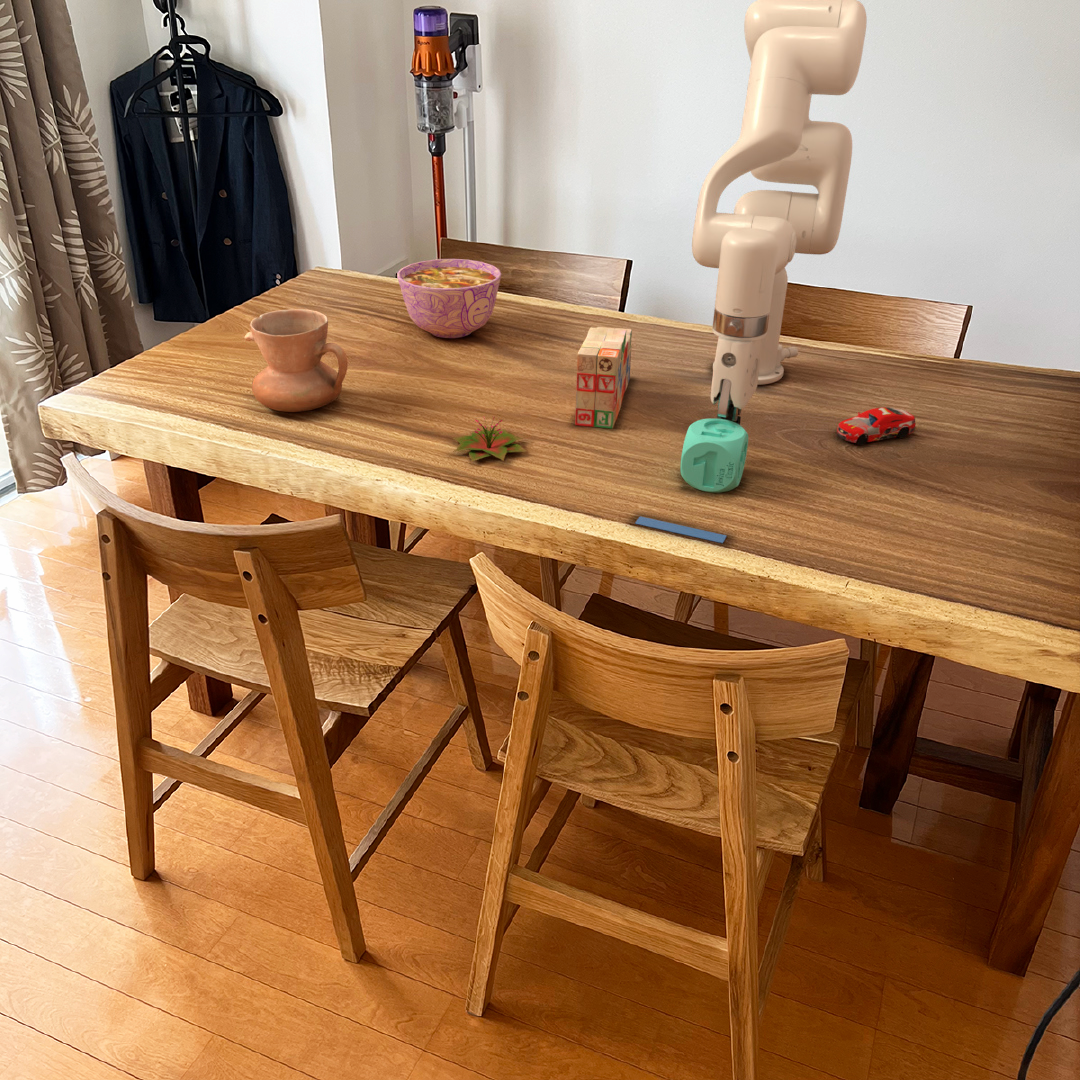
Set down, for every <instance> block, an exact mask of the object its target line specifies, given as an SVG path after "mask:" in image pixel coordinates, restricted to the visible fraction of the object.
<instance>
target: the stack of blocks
mask: <svg viewBox="0 0 1080 1080" xmlns="http://www.w3.org/2000/svg"><path fill="white" fill-rule="evenodd" d="M632 336H633V329H632V328H623V327H622V328H621V327H608V326H607V327H605V326H597V327H593V326H591V327H589V328H588V332H587V334H586V337H585V338H584V339H585V340H583V343H582V344H581V346H580V348H579V350H578V352H577V360H576V361H577V362H576V388H575V390H576V400H575V417H574V421H575V422H574V425H575V426H580V427H581V426H582V427H592V428H593V427H595V428H602V429H613V428H614V426H615V423H616V421H617V419H618V416H619V413H620V410H621V407H622V403H623V399H624V396H625V392H626V391H627V388H628V385H629V382H630V379H631V364H632V363H631V361H632Z"/></svg>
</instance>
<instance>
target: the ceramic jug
mask: <svg viewBox="0 0 1080 1080" xmlns="http://www.w3.org/2000/svg"><path fill="white" fill-rule="evenodd" d="M249 326H250V331H249V332H246V334H245V336H244V341H247V342H254V343H255V344H256V345H257V347H258V350H259V351H260V353H261V355H262V357H263V359H264V360H265V362H266V363H267V366H266V367H264V368H263V369H262V370H261V371H259V372H258V373H257V374H256V375H254V376H253V381H252V385H251V390H252V394H253V396H254V398H255V399H256V401H257V402H258V403H259V404H261V405H262V406H264V407H265V408H269V409H271V410H274V411H278V412H286V413H288V412H289V413H296V412H297V413H298V412H300V413H301V412H306V411H312V410H316V409H320V408H322V407H324V406H326V405H329V404H331V403H332V402H334V401H335V400H336V399H337V398H338V397H339V396H340V395H341V392H342V388H343V382H344V380H345V377H346V375H347V371H348V366H349V365H348V356H347V353H346V352H345V349H344V348H343V347H342V346H341V345H339V344H337V343H334V342H327V338H328V331H329V319H328V316H327V315H325V314H324V313H322V312H319V311H317V310H312V309H305V308H296V309H295V308H291V309H289V308H288V309H281V310H280V309H279V310H273V311H269V312H265V313H263V314H260V315H259V317H258V316H257V317H254V318H253V319H251V321H250V323H249ZM331 352H332V353H333V354H334V355H335V356H336V358H337V362H338V370H336V369H335V368H333V367H332V366H330V365H328V364H326V363H325V362H323V361H322V357H323V356H324V355H326V354H327V353H331Z"/></svg>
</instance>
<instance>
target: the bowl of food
mask: <svg viewBox="0 0 1080 1080" xmlns="http://www.w3.org/2000/svg"><path fill="white" fill-rule="evenodd" d="M396 274H397V276H396V277H397V281H398V284H399V288H400V291H401V294H402V299H403V301H404V305H405V308H406V309H407V310H406V311H407V313H408V316H409V318H410V320H412V322H413V323H414V324H415V325H416V326H417V327H418V328H420V329H422V330H424V332H428V333H430V334H431V335H433V336H435V337H438V338H443V339H458V338H463V337H467V336H469V335H470V334H471V333H473V332H475V331H477V330H478V329H481V328H482V327H484V326H485V325H486V324H487V322H488V321H489V319H490V318H491V316H492V315H493V312H494V308H495V306H496V302H497V301H496V300H497V297H498V291H499V287H500V283H501V279H502V273H501V270H500V269H499V268H498V267H496V266H495V265H493V264H490V263H486V262H483V261H480V260H474V259H473V260H472V259H464V258H463V259H462V258H437V259H436V258H435V259H430V260H429V259H428V260H422V261H418V262H414V263H410V264H407V265H405V266H404V267H402V268H400V269H399V270H398V271H397V272H396Z"/></svg>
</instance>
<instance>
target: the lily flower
mask: <svg viewBox="0 0 1080 1080" xmlns="http://www.w3.org/2000/svg"><path fill="white" fill-rule="evenodd" d="M495 418H496V417H495V415H494V417H493V419H492V422H491V424H490V425H491V426H490V427H489V430H488V426H487V424H486V425H483V424H482V423H480V421H479V420H477V419H475V420H474V421H475V422H477V423H478V425H479V426H480V427H482V430H481V429H480V428H479V427H477V428H476V430H475V431H473V432H472V433H471V435H461V436H457V437H451V439H453V440H454V441H456V442H458V443H459V445H458V446H457V447H456V449H455V450H454V451H452V453H455V452H461V451H466V450H469V451H468V456H469V458H470V460H471V463H472V462H475V461H477V460H478V461H479V460H480V459H483V458H487V457H490V456H491V455H492V456H493V457H495V458H497V459H500V460H501V461H502V462H504V461H505V458H506V455H507V453H521V452H522V453H523V452H524V453H525V452H526V453H527V452H528V450H526V449H525V448H523V447H522V445H520V444H518V443H514V442H516V441H519V440H523V439H525V438H524V437H520V436H518V435H515V434H514V433H513V434H512V433H509V432H508V431H507V429H506V428H503V429H502V428H501V427H500V428H498V429H496V427H497V426H498V425H499V424H500V423H501V422H503V419H500V420H499V421H498V422H497V423H495V424H494V425H493V422H494V420H495ZM483 420H484V422H485V423H487V422H486V418H485V417H483Z"/></svg>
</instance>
